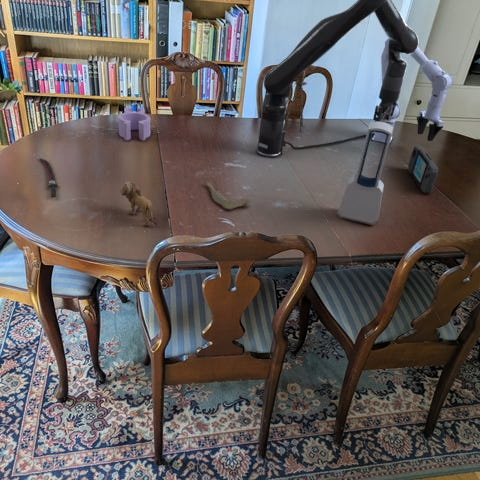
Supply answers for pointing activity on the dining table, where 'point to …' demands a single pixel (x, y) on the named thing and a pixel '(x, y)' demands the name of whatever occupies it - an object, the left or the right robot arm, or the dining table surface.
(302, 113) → the dark upright piece
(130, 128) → the clip
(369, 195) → the electronic device
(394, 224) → the dining table surface
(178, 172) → the dining table surface
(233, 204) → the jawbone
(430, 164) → the handheld gaming console
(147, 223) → the lion figurine
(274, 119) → the left robot arm
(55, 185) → the sword
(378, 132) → the gray block
